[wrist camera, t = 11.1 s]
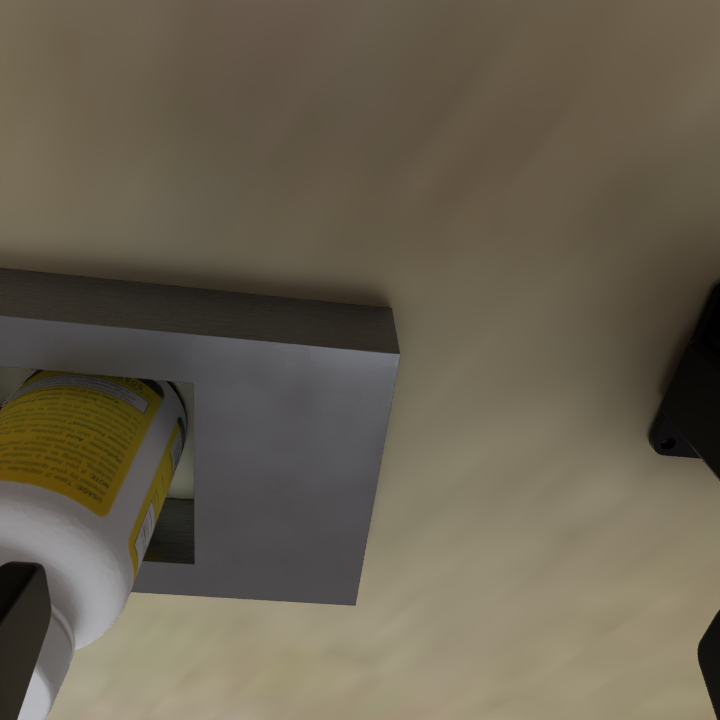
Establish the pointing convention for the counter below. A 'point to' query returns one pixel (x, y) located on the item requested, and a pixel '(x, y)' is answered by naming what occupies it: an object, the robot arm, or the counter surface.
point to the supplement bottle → (83, 500)
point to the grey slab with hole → (236, 422)
